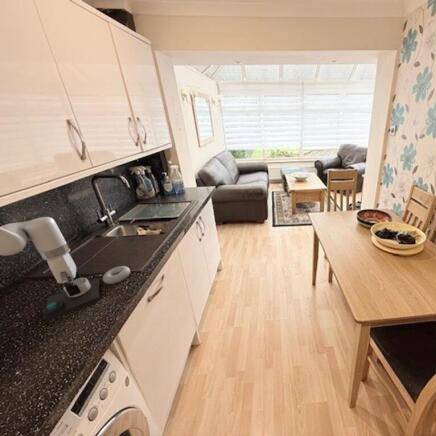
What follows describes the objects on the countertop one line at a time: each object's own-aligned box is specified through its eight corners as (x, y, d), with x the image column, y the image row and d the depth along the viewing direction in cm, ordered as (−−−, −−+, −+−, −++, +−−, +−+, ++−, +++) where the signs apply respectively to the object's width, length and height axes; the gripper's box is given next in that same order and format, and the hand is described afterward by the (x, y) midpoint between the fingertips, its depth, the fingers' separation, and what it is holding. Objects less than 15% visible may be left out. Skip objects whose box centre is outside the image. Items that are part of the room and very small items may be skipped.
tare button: (47, 311, 84) (45, 308, 83) (48, 307, 86) (47, 304, 85) (57, 307, 85) (55, 305, 85) (58, 303, 87) (56, 301, 87)
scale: (44, 322, 83) (40, 316, 82) (50, 300, 93) (46, 294, 92) (100, 300, 91) (96, 294, 90) (99, 281, 101) (96, 276, 100)
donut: (105, 277, 105) (103, 289, 97) (101, 270, 103) (100, 282, 95) (131, 268, 109) (131, 279, 102) (128, 261, 108) (128, 272, 100)
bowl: (63, 297, 92) (58, 289, 90) (82, 284, 98) (77, 276, 96) (78, 299, 90) (73, 291, 88) (95, 286, 96) (91, 278, 95)
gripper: (45, 245, 90) (66, 280, 97) (36, 265, 77) (61, 305, 85) (70, 238, 94) (89, 273, 101) (66, 256, 81) (88, 294, 89)
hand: (76, 287), depth 93 cm, fingers open, 9 cm apart
